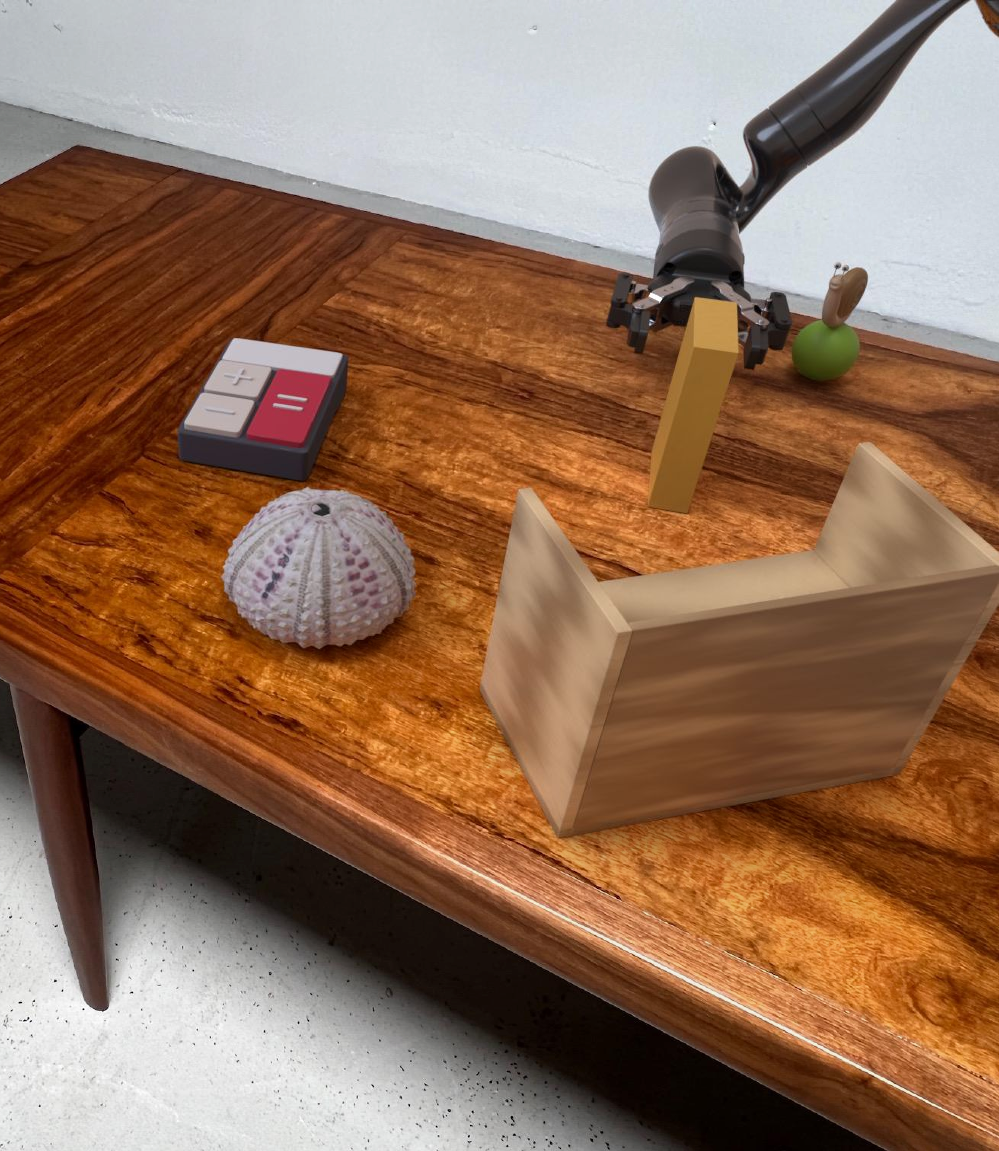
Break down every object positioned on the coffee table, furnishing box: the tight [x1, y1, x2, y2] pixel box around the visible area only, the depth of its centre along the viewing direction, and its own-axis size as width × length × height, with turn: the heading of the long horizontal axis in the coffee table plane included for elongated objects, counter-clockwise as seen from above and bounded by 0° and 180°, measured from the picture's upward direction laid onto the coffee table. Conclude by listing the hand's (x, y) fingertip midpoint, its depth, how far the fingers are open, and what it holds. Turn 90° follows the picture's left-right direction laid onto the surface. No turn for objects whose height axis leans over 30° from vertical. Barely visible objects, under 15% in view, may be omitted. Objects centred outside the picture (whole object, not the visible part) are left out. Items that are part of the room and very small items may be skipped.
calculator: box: [177, 337, 349, 482], centre depth 96 cm, size 11×4×15 cm
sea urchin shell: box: [220, 486, 417, 650], centre depth 77 cm, size 13×14×8 cm
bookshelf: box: [479, 441, 999, 839], centre depth 65 cm, size 12×22×16 cm, turn 102°
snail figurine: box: [790, 261, 869, 382], centre depth 99 cm, size 5×6×12 cm
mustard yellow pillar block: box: [647, 297, 740, 514], centre depth 86 cm, size 3×8×14 cm, turn 162°
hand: (695, 351), depth 90 cm, fingers open, 8 cm apart
